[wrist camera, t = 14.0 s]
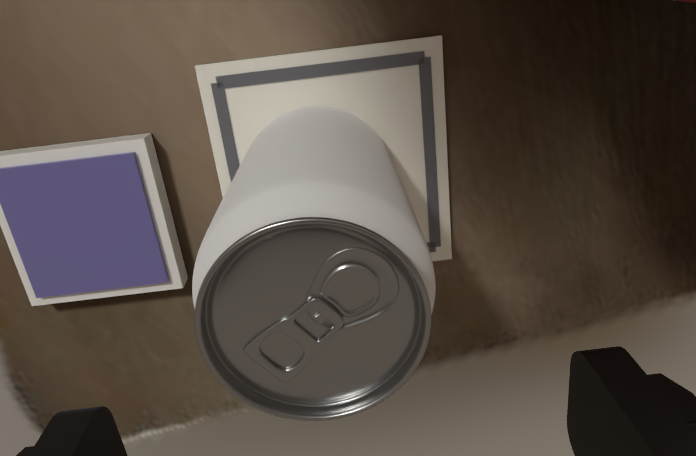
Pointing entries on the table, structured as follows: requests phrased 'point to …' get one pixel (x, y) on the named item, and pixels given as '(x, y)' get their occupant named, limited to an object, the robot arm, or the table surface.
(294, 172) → the can
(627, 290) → the table surface
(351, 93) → the card
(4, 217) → the ink pad
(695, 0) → the smoothie
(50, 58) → the table surface
